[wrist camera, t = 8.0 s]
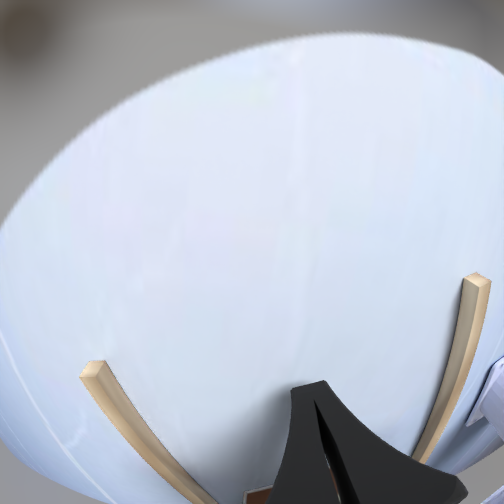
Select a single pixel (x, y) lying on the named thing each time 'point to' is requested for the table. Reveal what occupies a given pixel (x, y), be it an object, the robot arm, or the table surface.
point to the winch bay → (156, 455)
